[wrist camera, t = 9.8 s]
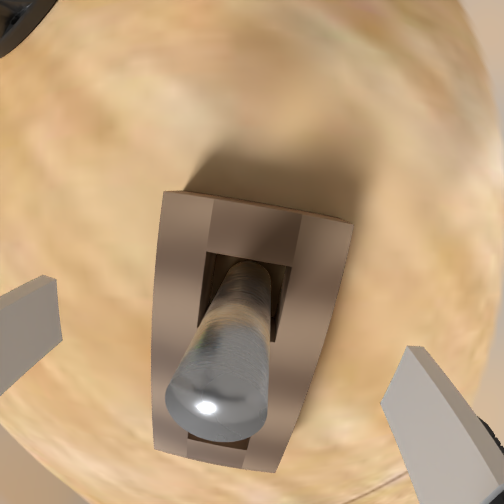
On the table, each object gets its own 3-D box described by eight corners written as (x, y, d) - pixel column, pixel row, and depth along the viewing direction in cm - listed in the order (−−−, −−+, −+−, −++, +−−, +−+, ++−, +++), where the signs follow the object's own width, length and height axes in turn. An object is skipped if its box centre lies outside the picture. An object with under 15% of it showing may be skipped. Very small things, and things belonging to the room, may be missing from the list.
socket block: (182, 190, 18) (163, 191, 15) (339, 218, 18) (354, 224, 15) (165, 422, 23) (154, 449, 19) (275, 444, 22) (275, 473, 19)
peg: (229, 256, 19) (166, 357, 7) (275, 265, 19) (278, 380, 7) (221, 299, 20) (164, 429, 8) (266, 308, 20) (256, 448, 8)
